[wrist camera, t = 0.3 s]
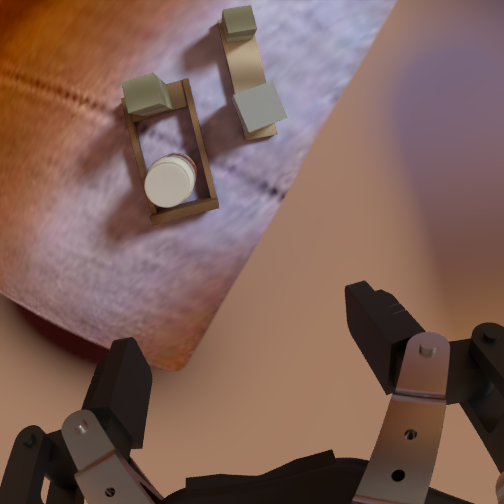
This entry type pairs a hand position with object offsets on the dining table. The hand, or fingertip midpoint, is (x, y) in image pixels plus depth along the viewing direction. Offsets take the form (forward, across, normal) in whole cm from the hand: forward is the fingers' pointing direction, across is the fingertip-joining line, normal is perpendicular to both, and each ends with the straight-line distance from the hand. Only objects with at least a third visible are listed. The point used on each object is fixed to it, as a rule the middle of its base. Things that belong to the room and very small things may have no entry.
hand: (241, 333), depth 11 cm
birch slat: (+27, -6, -12) cm, 30 cm away
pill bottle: (+27, +4, -3) cm, 28 cm away
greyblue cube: (+26, -6, -8) cm, 28 cm away
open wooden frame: (+27, +4, -6) cm, 28 cm away
